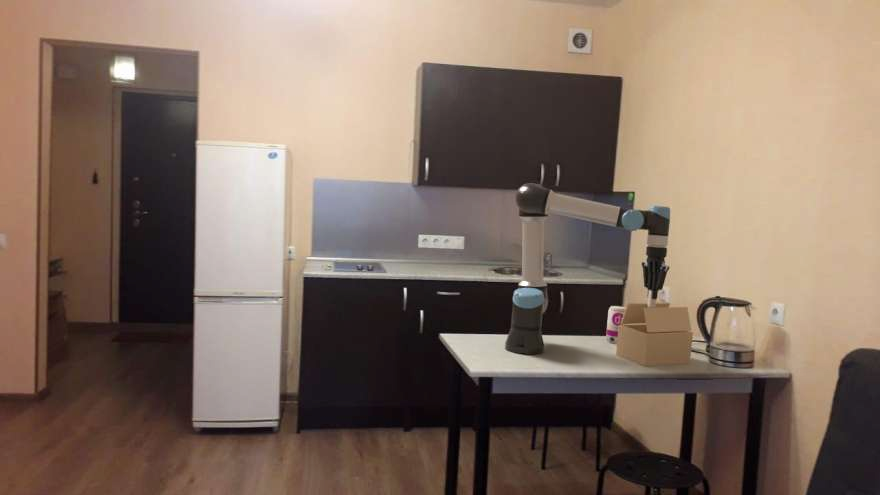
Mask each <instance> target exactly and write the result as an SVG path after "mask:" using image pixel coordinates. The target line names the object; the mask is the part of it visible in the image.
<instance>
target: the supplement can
mask: <svg viewBox="0 0 880 495" xmlns="http://www.w3.org/2000/svg"><path fill="white" fill-rule="evenodd" d="M625 309H626V307H625V306H621V305H620V306H619V305H611V306H610V307H609V308H608V312H607V321H606V322H607V323H606V333H605V334H606V337H605V340H606V341H607V343H610V344H615V345H617V339H618V327H619V325H628V324H621V320H622V318H623V315H624V312H625Z"/></svg>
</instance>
